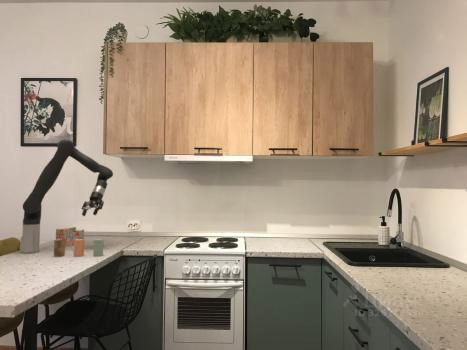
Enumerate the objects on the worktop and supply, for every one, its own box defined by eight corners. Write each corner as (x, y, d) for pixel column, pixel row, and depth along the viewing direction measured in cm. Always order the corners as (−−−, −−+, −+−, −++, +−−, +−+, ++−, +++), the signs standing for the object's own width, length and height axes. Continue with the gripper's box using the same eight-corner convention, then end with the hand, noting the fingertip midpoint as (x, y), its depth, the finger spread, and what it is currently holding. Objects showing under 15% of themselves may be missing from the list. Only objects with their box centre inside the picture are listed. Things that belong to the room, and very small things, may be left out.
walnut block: (53, 256, 185) (54, 240, 185) (56, 255, 189) (57, 239, 190) (61, 256, 186) (62, 240, 186) (64, 255, 190) (65, 239, 190)
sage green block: (93, 256, 188) (93, 240, 188) (95, 254, 192) (95, 239, 193) (100, 256, 188) (101, 240, 189) (102, 254, 193) (103, 238, 193)
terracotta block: (73, 256, 186) (74, 240, 187) (76, 255, 191) (76, 239, 191) (81, 256, 187) (81, 240, 187) (83, 254, 191) (84, 239, 192)
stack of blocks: (76, 241, 236) (77, 225, 237) (84, 242, 235) (84, 225, 236) (55, 246, 215) (55, 228, 216) (63, 247, 214) (63, 229, 215)
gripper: (85, 191, 213) (75, 212, 203) (103, 190, 209) (94, 211, 199) (92, 198, 218) (83, 218, 209) (109, 196, 215) (101, 217, 205)
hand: (88, 215), depth 204 cm, fingers open, 8 cm apart
